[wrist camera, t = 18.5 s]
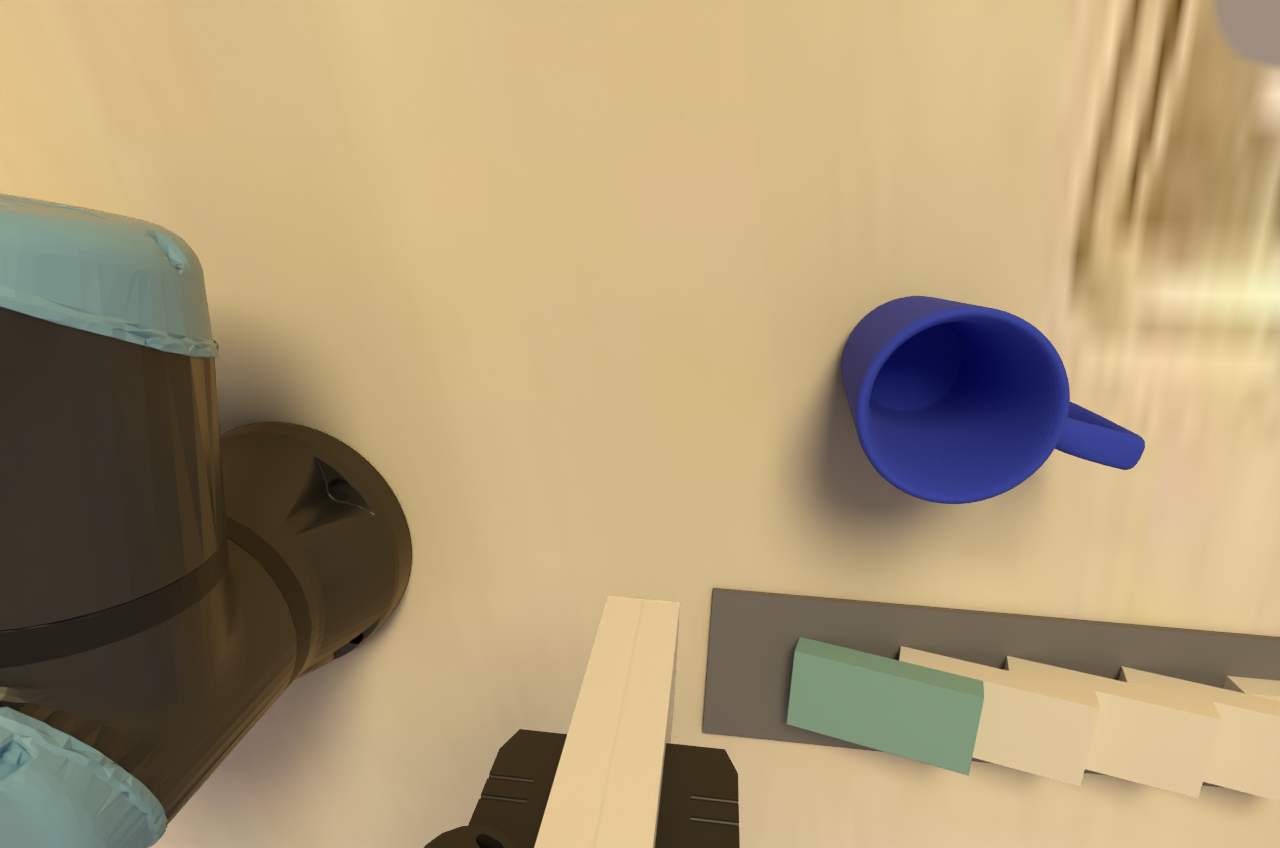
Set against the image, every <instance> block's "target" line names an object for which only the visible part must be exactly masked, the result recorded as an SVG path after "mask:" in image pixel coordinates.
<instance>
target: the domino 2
mask: <svg viewBox="0 0 1280 848" xmlns="http://www.w3.org/2000/svg"><path fill="white" fill-rule="evenodd" d="M1004 670H1007V671H1011V672H1015V673H1020V674H1024V675H1028V676H1033V677H1037V678H1041V679H1046V680H1050V681H1054V682H1059V683H1063V684H1067V685H1071V686H1076V687H1080V688H1084V689H1089V690H1093V691H1095V692H1096V695H1097V699H1098V702H1099V705H1100V713H1099V717H1098V720H1097V724H1096V728H1095V732H1094V736H1093V740H1092V744H1091V748H1090V751H1089V755H1088V759H1087V763H1086V767H1085V769H1087V770H1090V771H1094V772H1098V773H1102V774H1106V775H1110V776H1113V777H1117V778H1121V779H1125V780H1129V781H1133V782H1136V783H1140V784H1144V785H1148V786H1152V787H1156V788H1159V789H1163V790H1167V791H1171V792H1175V793H1179V794H1182V795H1186V796H1190V797H1194V798H1198V796H1199V793H1200V790H1201V787H1202V784H1203V780H1204V777H1205V774H1206V771H1207V768H1208V765H1209V762H1210V758H1211V755H1212V752H1213V749H1214V746H1215V743H1216V739H1217V736H1218V733H1219V730H1220V727H1221V724H1222V721H1223V720H1222V718H1221V716H1220V714H1219V712H1218V710H1217V709H1216V707H1215V705H1214V703H1213V701H1208V700H1204V699H1199V698H1195V697H1190V696H1186V695H1181V694H1177V693H1172V692H1168V691H1163V690H1159V689H1154V688H1150V687H1145V686H1141V685H1136V684H1132V683H1127V682H1123V681H1118V680H1114V679H1109V678H1105V677H1100V676H1096V675H1091V674H1087V673H1082V672H1078V671H1074V670H1069V669H1065V668H1060V667H1056V666H1051V665H1047V664H1042V663H1038V662H1033V661H1029V660H1024V659H1020V658H1015V657H1011V656H1007V658H1006V663H1005V667H1004Z"/></svg>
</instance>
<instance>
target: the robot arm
mask: <svg viewBox="0 0 1280 848" xmlns="http://www.w3.org/2000/svg"><path fill="white" fill-rule="evenodd" d="M216 357H219V349H218V343H216V342H215V341H214V340H213V338H212V331H211V324H210V317H209V311H208V304H207V297H206V290H205V283H204V275H203V270H202V267H201V264H200V262H199V259H198V257H197V256H196V254H195V253H194V251H193V250H192V248H191V247H190V246H189V245H188V244H187V243H186V242H185V241H184V240H183V239H182V238H180V237H179V236H178V235H176V234H175V233H173V232H171V231H170V230H168V229H166V228H164V227H162V226H159V225H156V224H154V223H151V222H147V221H144V220H140V219H136V218H131V217H127V216H122V215H117V214H112V213H107V212H103V211H98V210H93V209H87V208H82V207H76V206H71V205H65V204H60V203H54V202H48V201H42V200H36V199H30V198H25V197H19V196H13V195H7V194H1V193H0V848H148V847H150V846H152V845H154V844H155V843H156V842H157V841H158V840H159V839H160V838H161V837H162V835H163V834H164V832H165V831H166V830H165V829H166V828H167V826H168V825H167V824H168V823H169V822H170V821H171V820H172V819H173V818H174V816H175V815H176V814H177V813H178V812H179V811H180V810H181V808H182V807H183V806H184V805H185V804H186V803H187V801H188V800H189V799H190V798H191V797H192V796H193V795H194V793H195V792H196V791H197V790H198V789H199V788H200V786H201V785H202V784H203V783H204V782H205V781H206V780H207V778H208V777H209V776H210V775H211V774H212V773H213V772H214V770H215V769H216V768H217V767H218V766H219V765H220V763H221V762H222V761H223V760H224V759H225V758H226V757H227V755H228V754H229V753H230V752H231V751H232V750H233V748H234V747H235V746H236V745H237V744H238V743H239V742H240V741H241V739H242V738H243V737H244V736H245V735H246V734H247V733H248V731H249V730H250V729H251V728H252V727H253V726H254V725H255V724H256V722H257V721H258V720H259V719H260V718H261V717H262V716H263V715H264V713H265V712H266V711H267V710H268V709H269V708H270V707H271V705H272V704H273V703H274V702H275V701H276V700H277V699H278V698H279V696H280V695H281V694H282V693H283V691H284V690H285V689H286V688H287V687H288V686H289V685H290V684H291V683H292V682H293V681H294V680H295V679H297V678H299V677H301V676H303V675H305V674H307V673H309V672H311V671H313V670H315V669H317V668H319V667H321V666H323V665H325V664H327V663H329V662H330V661H332V660H334V659H336V658H339V657H341V656H343V655H345V654H347V653H348V652H350V651H352V650H354V649H355V648H357V647H358V646H360V645H361V644H363V643H364V642H365V641H366V640H367V639H369V638H370V637H371V636H372V635H373V634H374V633H375V632H376V631H377V630H378V629H379V627H380V626H381V625H382V624H383V622H384V621H385V620H386V619H387V618H388V616H389V615H390V614H391V613H392V611H393V610H394V609H395V607H396V606H397V604H398V603H399V601H400V599H401V597H402V596H403V593H404V591H405V589H406V586H407V583H408V579H409V575H410V569H411V559H412V550H411V539H410V534H409V529H408V525H407V522H406V519H405V516H404V513H403V511H402V508H401V506H400V504H399V502H398V500H397V498H396V496H395V495H394V493H393V491H392V490H391V488H390V487H389V485H388V484H387V482H386V481H385V480H384V479H383V477H382V476H381V475H380V474H379V472H378V471H377V470H376V469H375V468H374V467H373V466H372V465H371V464H370V463H369V462H368V461H367V460H366V459H365V458H363V457H362V456H361V455H360V454H359V453H357V452H356V451H355V450H353V449H352V448H351V447H349V446H348V445H346V444H344V443H343V442H341V441H339V440H338V439H336V438H334V437H332V436H330V435H328V434H325V433H323V432H321V431H318V430H315V429H312V428H309V427H305V426H301V425H297V424H291V423H282V422H263V423H255V424H250V425H246V426H242V427H239V428H236V429H234V430H231V431H229V432H227V433H225V434H223V435H220V434H219V421H218V408H217V391H216V373H215V358H216ZM679 610H680V602H670V601H659V600H648V599H637V598H626V597H615V596H608V597H607V601H606V604H605V608H604V611H603V614H602V618H601V621H600V625H599V628H598V632H597V635H596V638H595V642H594V645H593V649H592V652H591V655H590V659H589V662H588V666H587V669H586V673H585V676H584V679H583V683H582V686H581V690H580V693H579V696H578V700H577V703H576V707H575V710H574V713H573V717H572V720H571V724H570V727H569V731H568V734H558V733H549V732H540V731H531V730H522V729H520V730H519V731H518V732H517V733H516V734H515V735H514V736H512V737H511V738H510V739H509V740H508V741H507V742H506V743H505V744H504V745H503V746H502V747H501V748H500V749H499V752H498V754H497V757H496V759H495V761H494V764H493V766H492V769H491V771H490V775H489V778H488V779H487V781H486V783H485V786H484V788H483V791H482V793H481V799H479V801H478V803H477V806H476V808H475V810H474V813H473V815H472V818H471V820H470V823H469V825H468V826H461V827H459V828H456V829H453V830H450V831H447V832H444V833H442V834H441V835H439V836H438V837H437V838H435V839H434V840H432V841H431V842H430V843H428V844H427V845H426V846H425V847H424V848H739V805H738V773H737V771H736V769H735V767H734V766H733V764H732V762H731V760H730V758H729V756H728V754H727V753H726V751H725V749H716V748H706V747H697V746H688V745H679V744H670V739H671V729H672V719H673V707H674V691H675V674H676V658H677V642H678V626H679Z"/></svg>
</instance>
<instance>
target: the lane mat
mask: <svg viewBox="0 0 1280 848" xmlns="http://www.w3.org/2000/svg"><path fill="white" fill-rule="evenodd" d="M800 637H803V638H807V639H812V640H816V641H820V642H824V643H828V644H832V645H836V646H841V647H845V648H849V649H853V650H857V651H861V652H865V653H870V654H874V655H878V656H882V657H886V658H890V659H894V660H899V655H900V649H901V646H903V647H908V648H912V649H916V650H921V651H925V652H929V653H934V654H938V655H942V656H947V657H951V658H955V659H959V660H964V661H968V662H972V663H977V664H981V665H985V666H990V667H994V668H998V669H1003V670H1004V667H1005V663H1006V658H1007V656H1011V657H1015V658H1020V659H1024V660H1029V661H1033V662H1038V663H1042V664H1047V665H1051V666H1056V667H1060V668H1065V669H1069V670H1074V671H1078V672H1082V673H1087V674H1091V675H1096V676H1100V677H1105V678H1109V679H1114V680H1118V679H1119V675H1120V671H1121V667H1122V666H1123V667H1128V668H1132V669H1137V670H1141V671H1146V672H1150V673H1155V674H1159V675H1164V676H1168V677H1173V678H1177V679H1182V680H1186V681H1191V682H1195V683H1200V684H1204V685H1209V686H1213V687H1218V688H1222V689H1223V687H1224V684H1225V681H1226V678H1227V676H1234V677H1244V678H1255V679H1266V680H1277V681H1280V637H1272V636H1260V635H1249V634H1237V633H1226V632H1214V631H1203V630H1191V629H1180V628H1168V627H1157V626H1145V625H1134V624H1122V623H1111V622H1099V621H1088V620H1076V619H1065V618H1053V617H1042V616H1030V615H1018V614H1007V613H995V612H984V611H972V610H961V609H949V608H938V607H926V606H915V605H903V604H892V603H880V602H869V601H857V600H846V599H834V598H823V597H811V596H800V595H788V594H777V593H765V592H754V591H742V590H731V589H719V588H713V597H712V611H711V625H710V638H709V652H708V665H707V679H706V692H705V706H704V719H703V733H710V734H720V735H729V736H739V737H748V738H758V739H767V740H777V741H787V742H796V743H806V744H815V745H825V746H834V747H844V748H853V749H863V750H872V751H880V750H877V749H873V748H870V747H866V746H863V745H859V744H856V743H852V742H849V741H845V740H841V739H838V738H834V737H831V736H827V735H824V734H820V733H817V732H813V731H810V730H806V729H803V728H799V727H796V726H792V725H789V724H787V717H788V708H789V699H790V690H791V681H792V672H793V663H794V654H795V649H796V646H797V644H798V641H799V638H800ZM882 752H884V751H882ZM972 761H977V762H987V761H984V760H980V759H976V758H973V757H972ZM987 763H991V762H987ZM1084 773H1092V774H1101V775H1106V774H1102V773H1098V772H1094V771H1090V770H1087V769H1085V771H1084ZM1202 785H1206V786H1216V787H1222V786H1218V785H1214V784H1210V783H1206V782H1203V784H1202Z"/></svg>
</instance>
